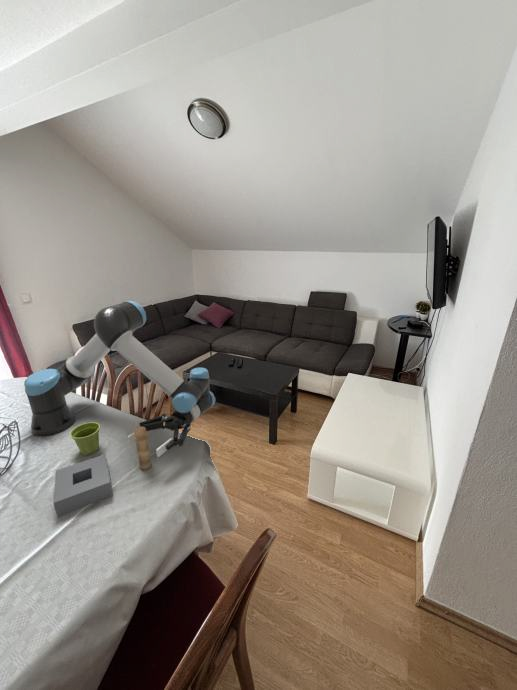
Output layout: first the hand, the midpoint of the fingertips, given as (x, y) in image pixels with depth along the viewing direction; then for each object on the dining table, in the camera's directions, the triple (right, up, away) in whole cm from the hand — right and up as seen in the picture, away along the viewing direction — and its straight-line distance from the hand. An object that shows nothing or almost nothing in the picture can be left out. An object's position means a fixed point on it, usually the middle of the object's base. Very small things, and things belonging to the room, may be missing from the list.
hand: (142, 446), depth 94 cm
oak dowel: (0, -8, +3) cm, 9 cm away
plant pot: (-24, -5, +12) cm, 28 cm away
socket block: (-16, -11, -6) cm, 20 cm away
